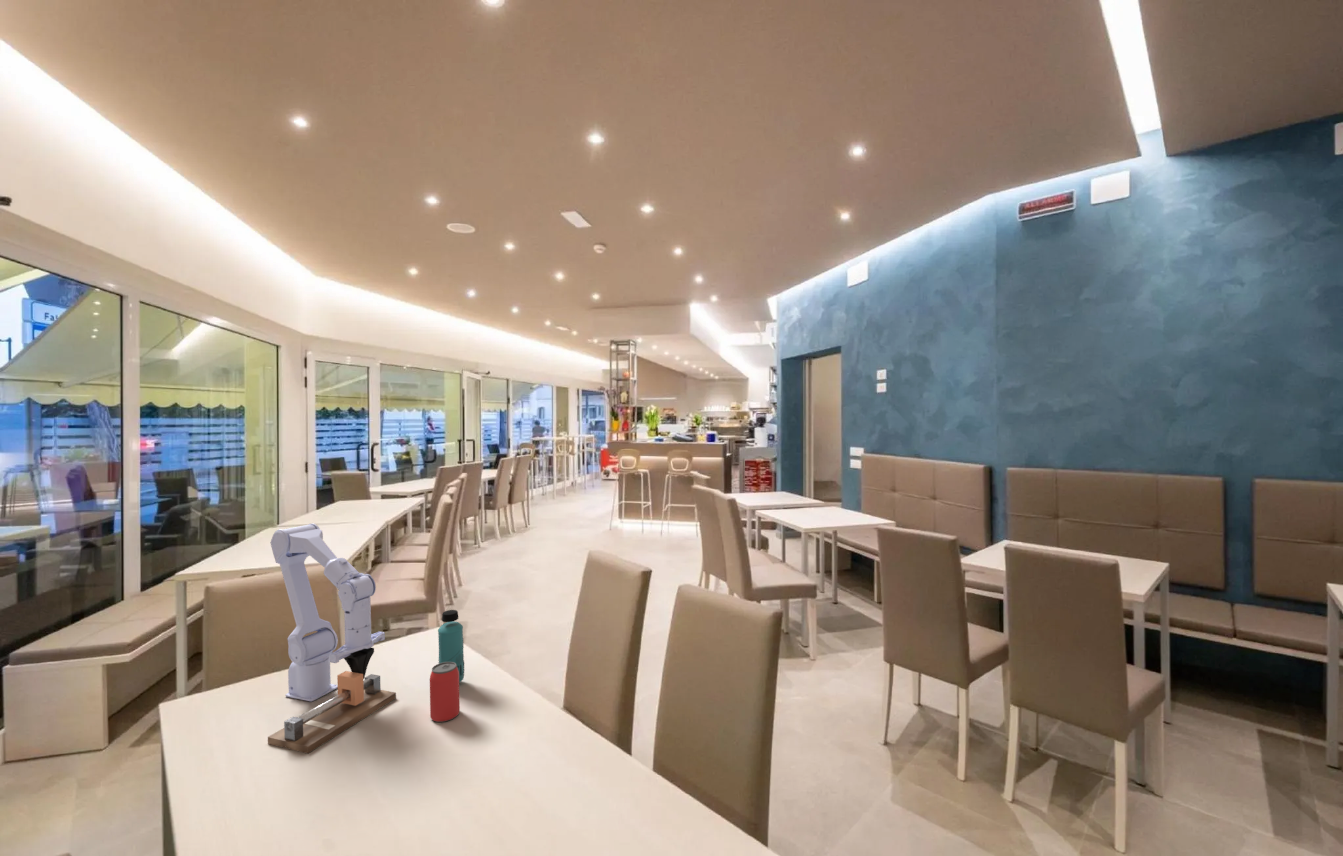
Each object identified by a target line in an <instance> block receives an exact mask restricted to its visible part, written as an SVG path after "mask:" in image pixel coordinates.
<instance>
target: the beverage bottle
mask: <svg viewBox="0 0 1343 856" xmlns="http://www.w3.org/2000/svg"><path fill="white" fill-rule="evenodd" d="M458 620H459V611H458V610H456V609H449V610H445V611H443V612H442V615H441V621H442V622H443V624H441V626H440V627H439V628H438V629H437V632H438V633H437V634H438V635H437V639H438V662H437V664H439V663H443V662H454V663H456V664H457V668H458V671H459V683H460V682H462V681H463V680H464V677H465V676H466V675H465V669H466V668H465V659H464V658H465V656H464V644H465V643H464V634H463V633H464V631H463V630H464V625H463V624H461V622H459V621H458Z"/></svg>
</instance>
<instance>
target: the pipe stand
mask: <svg viewBox="0 0 1343 856" xmlns="http://www.w3.org/2000/svg"><path fill="white" fill-rule="evenodd" d="M363 685H364V690H365V693H368V694H373V695H375V694H376V693H378V692H380V691H381V690H382V688H381V675H378V674H373V673H370V674H369V675H366V676H365V677H364V679H363ZM349 698H351V690H346V691H344V692H343V693H341V694H339V695H338V694H337V695H336V696H334V697H331V698H330V699H328V700H326V701H324V702H322V703H321V704H319V705H317V706H315V707H313V708H311V709H310V710H308V711H306V712H304V713H302V714H301V715H299V716H297V717H296V716H292V717H290V718H288V719H286V720H284V723H283V724H284V725H283V728H284V733H285V739H286V740H290V741H294V742H295V741H297V740H298V739H300V738H302V737H303V724H305V723H306V722H308V721H310V720H312V719H314V718H315V717H317V716H319V715H321V714H322V713H324V712H326V711H328V710H329V709H331V708H333V707H335V706H336V705H338V704H340V703H342V702H343V701H345V700H347V699H349Z"/></svg>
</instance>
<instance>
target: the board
mask: <svg viewBox="0 0 1343 856" xmlns="http://www.w3.org/2000/svg"><path fill="white" fill-rule="evenodd" d="M396 699H397V693H396V692H394V691H389V690H384V689H381V691H380V692H378V693H376V694H375V695H373V694H368V693H365V690H364V701H363V702H361V703H359V704H358V705H356V706H354V705H349V704H344V703H340V704H338V705H336V706H335V707H333V708H331V709H329V710H328V711H326V712H324V713H322V714H321V715H319V716H317V717H315V718H314V719H312V720H310V721H308V722H306V723H305V724H303V737H302V738H300V739H298V740H297V741H295V742H294V741H290V740H286V739H285V733H284V727H283V728H281V729H279V730H278V731H275V732H274V733H272V734H270V735H269V736H267V744H268V745H272V746H277V747H280V748H284V749H288V750H293V751H297V752H300V753H305V754H310V753H311V752H313V751H314V750H316V749H317V748H320V747H321V746H322V745H324V744H325V743H328V742H329V741H330V740H332V739H334V738H335V737H337V736H339V735H340V734H341V733H343V732H345V731H346V730H348V729H350V728H351V727H353V726H354V725H356V724H357V723H359V722H360V721H361V722H362V720H364V719H365V718H367V717H368V716H370V715H372V714H374V713H375V712H376V711H378V710H380V709H381V708H383V707H384V706H386V705H387V704H390V703H391V702H393V701H394V700H396Z"/></svg>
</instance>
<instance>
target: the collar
mask: <svg viewBox="0 0 1343 856" xmlns="http://www.w3.org/2000/svg"><path fill="white" fill-rule="evenodd" d="M336 677H337V685H338V688H337V695H339V694H341V693H343V692H344V691H346V690H351V698H349V699H347V700H345V701H343V702H342V703H344V704H349V705H354V706H356V705H358V704H359V703H361V702H363V701H364V685H363V681H364V679H363V674H361V673H355V672H352V671H349V670H345V671H342V672H341V673H339V674H337V676H336Z"/></svg>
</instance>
